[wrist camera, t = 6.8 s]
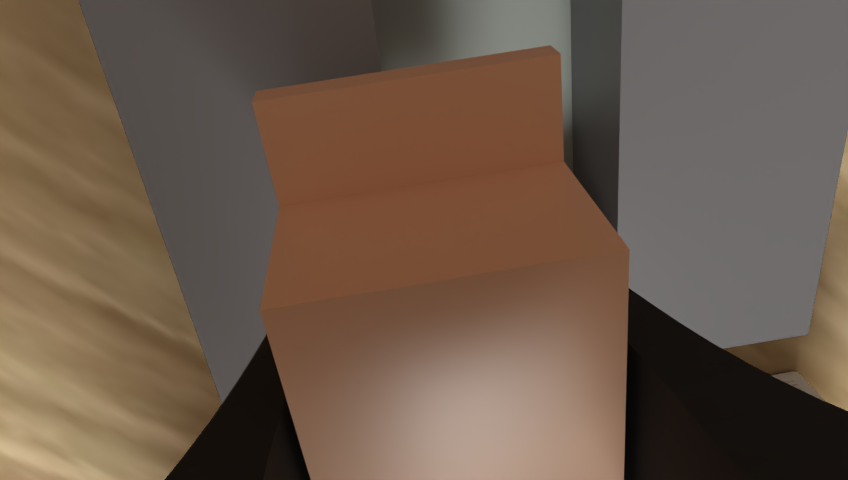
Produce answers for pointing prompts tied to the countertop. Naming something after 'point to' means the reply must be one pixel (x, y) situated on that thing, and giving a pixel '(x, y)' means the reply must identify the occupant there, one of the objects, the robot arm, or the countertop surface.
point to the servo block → (443, 277)
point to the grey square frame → (582, 135)
